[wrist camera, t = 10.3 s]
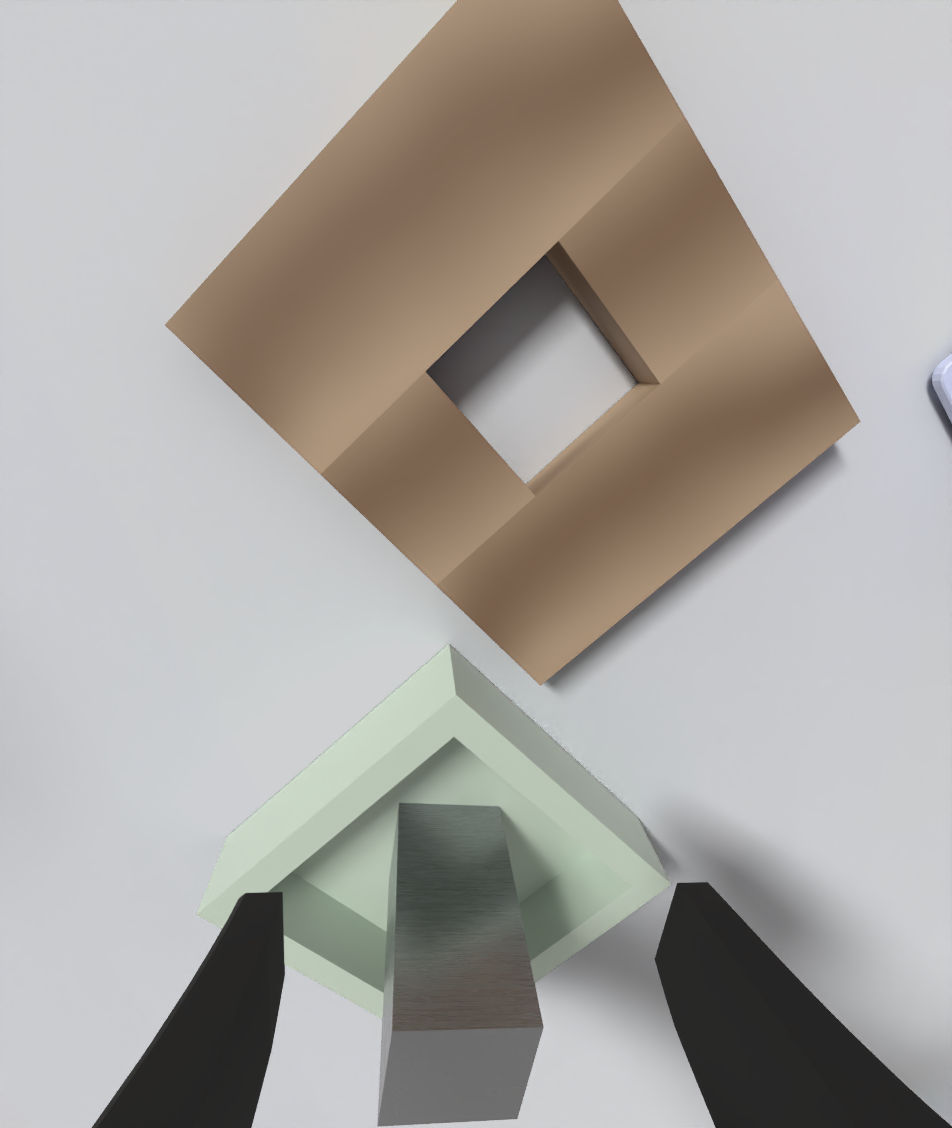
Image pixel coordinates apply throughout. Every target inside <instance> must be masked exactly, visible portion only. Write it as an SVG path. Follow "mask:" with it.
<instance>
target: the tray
mask: <svg viewBox="0 0 952 1128" xmlns="http://www.w3.org/2000/svg"><path fill="white" fill-rule="evenodd" d="M399 803H422V804H449V805H475V806H499V807H500V812H501V817H502V822H503V827H504V832H505V837H506V842H507V847H508V852H509V857H510V862H511V867H512V872H513V877H514V882H515V887H516V892H517V897H518V902H519V908H520V913H521V918H522V923H523V928H524V933H525V938H526V943H527V948H528V953H529V958H530V963H531V968H532V973H533V978H534V983H535V982H537V981H538V980H539V979H541V978H542V977H544V976H545V975H546V974H548V973H549V972H551V971H552V970H553V969H555V968H556V967H558V966H559V965H560V964H562V963H563V962H565V961H566V960H567V959H569V958H570V957H571V956H573V955H574V954H576V953H577V952H578V951H580V950H581V949H583V948H584V947H585V946H587V945H588V944H590V943H591V942H592V941H594V940H595V939H597V938H598V937H599V936H601V935H602V934H604V933H605V932H606V931H608V930H609V929H611V928H612V927H613V926H615V925H616V924H617V923H619V922H620V921H622V920H623V919H624V918H626V917H627V916H629V915H630V914H631V913H633V912H634V911H636V910H637V909H638V908H640V907H641V906H643V905H644V904H645V903H647V902H648V901H650V900H651V899H652V898H654V897H655V896H656V895H658V894H659V893H661V892H662V891H663V890H665V889H666V888H668V887H669V886H670V885H672V884H671V882H670V880H669V878H668V876H667V874H666V872H665V870H664V868H663V866H662V864H661V862H660V860H659V858H658V856H657V854H656V853H655V851H654V849H653V847H652V845H651V843H650V841H649V839H648V837H647V835H646V833H645V831H644V829H643V827H642V825H641V823H640V821H639V819H638V817H637V816H636V815H635V814H634V813H633V812H631V811H630V810H629V809H628V808H627V807H626V806H625V805H624V804H623V803H622V802H621V801H620V800H618V799H617V798H616V797H615V796H614V795H613V794H612V793H611V792H610V791H609V790H608V789H606V788H605V787H604V786H603V785H602V784H601V783H600V782H599V781H598V780H597V779H596V778H594V777H593V776H592V775H591V774H590V773H589V772H588V771H587V770H586V769H585V768H584V767H583V766H581V765H580V764H579V763H578V762H577V761H576V760H575V759H574V758H573V757H572V756H571V755H569V754H568V753H567V752H566V751H565V750H564V749H563V748H562V747H561V746H560V745H559V744H558V743H556V742H555V741H554V740H553V739H552V738H551V737H550V736H549V735H548V734H547V733H546V732H544V731H543V730H542V729H541V728H540V727H539V726H538V725H537V724H536V723H535V722H534V721H533V720H531V719H530V718H529V717H528V716H527V715H526V714H525V713H524V712H523V711H522V710H521V709H519V708H518V707H517V706H516V705H515V704H514V703H513V702H512V701H511V700H510V699H509V698H508V697H506V696H505V695H504V694H503V693H502V692H501V691H500V690H499V689H498V688H497V687H496V686H494V685H493V684H492V683H491V682H490V681H489V680H488V679H487V678H486V677H485V676H484V675H483V674H481V673H480V672H479V671H478V670H477V669H476V668H475V667H474V666H473V665H472V664H471V663H469V662H468V661H467V660H466V659H465V658H464V657H463V656H462V655H461V654H460V653H459V652H458V651H456V650H455V649H454V648H453V647H452V646H451V645H450V644H448V645H447V646H446V647H445V648H444V649H443V650H441V651H440V652H439V653H438V654H437V655H436V656H434V657H433V658H432V659H431V660H430V661H429V662H428V663H426V664H425V665H424V666H423V667H422V668H421V669H420V670H418V671H417V672H416V673H415V674H414V675H413V676H411V677H410V678H409V679H408V680H407V681H406V682H405V683H403V684H402V685H401V686H400V687H399V688H398V689H397V690H395V691H394V692H393V693H392V694H391V695H390V696H388V697H387V698H386V699H385V700H384V701H383V702H382V703H380V704H379V705H378V706H377V707H376V708H375V709H374V710H372V711H371V712H370V713H369V714H368V715H367V716H366V717H364V718H363V719H362V720H361V721H360V722H359V723H357V724H356V725H355V726H354V727H353V728H352V729H351V730H349V731H348V732H347V733H346V734H345V735H344V736H343V737H341V738H340V739H339V740H338V741H337V742H336V743H334V744H333V745H332V746H331V747H330V748H329V749H328V750H326V751H325V752H324V753H323V754H322V755H321V756H320V757H318V758H317V759H316V760H315V761H314V762H313V763H311V764H310V765H309V766H308V767H307V768H306V769H305V770H303V771H302V772H301V773H300V774H299V775H298V776H297V777H295V778H294V779H293V780H292V781H291V782H290V783H288V784H287V785H286V786H285V787H284V788H283V789H282V790H280V791H279V792H278V793H277V794H276V795H275V796H274V797H272V798H271V799H270V800H269V801H268V802H267V803H265V804H264V805H263V806H262V807H261V808H260V809H259V810H257V811H256V812H255V813H254V814H253V815H252V816H251V817H249V818H248V819H247V820H246V821H245V822H244V823H242V824H241V825H240V826H239V827H238V828H237V829H236V830H234V831H233V832H232V833H231V834H230V835H229V836H228V837H227V839H226V841H225V844H224V846H223V849H222V851H221V854H220V856H219V859H218V861H217V864H216V867H215V869H214V872H213V874H212V877H211V879H210V882H209V884H208V887H207V889H206V892H205V894H204V897H203V899H202V902H201V904H200V907H199V909H198V912H197V914H196V915H198V916H200V917H201V918H203V919H205V920H207V921H209V922H210V923H212V924H214V925H216V926H217V927H219V928H221V929H223V927H224V925H225V923H226V921H227V920H228V918H229V916H230V914H231V912H232V910H233V908H234V907H235V905H236V903H237V901H238V899H239V898H240V897H241V896H242V895H244V894H245V893H261V892H283V926H284V964H285V965H287V966H289V967H291V968H292V969H294V970H296V971H298V972H300V973H301V974H303V975H305V976H307V977H308V978H310V979H312V980H314V981H316V982H317V983H319V984H321V985H323V986H324V987H326V988H328V989H330V990H332V991H333V992H335V993H337V994H339V995H341V996H342V997H344V998H346V999H348V1000H349V1001H351V1002H353V1003H355V1004H357V1005H358V1006H360V1007H362V1008H364V1009H366V1010H367V1011H369V1012H371V1013H373V1014H374V1015H376V1016H378V1017H380V1018H382V1019H383V997H384V976H385V954H386V932H387V911H388V889H389V875H390V868H391V860H392V853H393V845H394V837H395V830H396V822H397V815H398V807H399Z"/></svg>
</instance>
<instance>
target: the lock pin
mask: <svg viewBox="0 0 952 1128" xmlns="http://www.w3.org/2000/svg"><path fill="white" fill-rule="evenodd" d="M542 1030H543V1023H542V1018H541V1013H540V1008H539V1003H538V998H537V993H536V988H535V983H534V978H533V973H532V968H531V963H530V958H529V953H528V948H527V943H526V938H525V933H524V928H523V923H522V918H521V913H520V908H519V902H518V897H517V892H516V887H515V882H514V877H513V872H512V867H511V862H510V857H509V852H508V847H507V842H506V837H505V832H504V827H503V822H502V817H501V812H500V807H499V806H475V805H449V804H422V803H399V807H398V815H397V822H396V830H395V837H394V845H393V853H392V860H391V868H390V875H389V889H388V911H387V932H386V954H385V976H384V997H383V1019H382V1041H381V1062H380V1084H379V1106H378V1126H394V1125H412V1124H431V1123H450V1122H468V1121H487V1120H506V1119H517V1118H518V1114H519V1111H520V1107H521V1104H522V1100H523V1097H524V1093H525V1090H526V1086H527V1083H528V1079H529V1076H530V1072H531V1069H532V1065H533V1062H534V1058H535V1055H536V1051H537V1048H538V1044H539V1041H540V1037H541V1034H542Z"/></svg>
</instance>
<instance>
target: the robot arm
mask: <svg viewBox="0 0 952 1128" xmlns="http://www.w3.org/2000/svg"><path fill="white" fill-rule="evenodd" d="M932 384H933V387H934V389H935V391H936V393H937V395H938V397H939V399H940V401H941V403H942V405H943V407H944V409H945V411H946V413H947V415H948V417H949V419H950V421H951V423H952V353H951V354H950V355H949V356H948V357H946V358H945V359H944V360H943V361H942V362H941V363H940V364H939V365H938V366H937V367H936V369H935V371H934V373H933V376H932ZM655 962H656V965H657V969H658V972H659V976H660V979H661V983H662V986H663V990H664V993H665V997H666V1000H667V1003H668V1006H669V1009H670V1013H671V1016H672V1019H673V1022H674V1025H675V1028H676V1031H677V1033H678V1036H679V1038H680V1041H681V1044H682V1046H683V1049H684V1051H685V1053H686V1056H687V1058H688V1061H689V1063H690V1066H691V1068H692V1071H693V1073H694V1076H695V1078H696V1081H697V1083H698V1086H699V1088H700V1091H701V1093H702V1096H703V1098H704V1100H705V1103H706V1105H707V1108H708V1110H709V1113H710V1115H711V1118H712V1120H713V1122H714V1125H715V1127H716V1128H952V1126H951V1125H949V1124H948V1123H947V1122H946V1121H945V1120H944V1119H943V1118H941V1117H940V1116H939V1115H938V1114H937V1113H936V1112H935V1111H934V1110H932V1109H931V1108H930V1107H929V1106H928V1105H927V1104H926V1103H925V1102H924V1101H922V1100H921V1099H920V1098H919V1097H918V1096H917V1095H916V1094H915V1093H914V1092H913V1091H912V1090H910V1089H909V1088H908V1087H907V1086H906V1085H905V1084H904V1083H903V1082H902V1081H901V1080H900V1079H899V1078H898V1077H897V1076H895V1075H894V1074H893V1073H892V1072H891V1071H890V1070H889V1069H888V1068H887V1067H886V1066H885V1065H884V1064H883V1063H882V1062H881V1061H880V1060H879V1059H878V1058H877V1057H876V1056H875V1055H874V1054H873V1053H872V1052H870V1051H869V1050H868V1049H867V1048H866V1047H865V1046H864V1045H863V1044H862V1043H861V1042H860V1041H859V1040H858V1039H857V1038H856V1037H855V1036H854V1035H853V1034H852V1033H851V1032H850V1031H849V1030H848V1029H847V1028H846V1027H845V1026H844V1025H843V1024H842V1023H841V1022H840V1021H839V1020H838V1019H837V1018H836V1017H835V1016H834V1015H833V1014H832V1013H831V1012H830V1011H829V1010H828V1009H827V1008H826V1007H825V1006H824V1005H823V1004H822V1003H821V1002H820V1001H819V1000H818V999H817V998H816V997H815V996H814V995H813V994H812V993H811V992H810V991H809V990H808V989H807V988H806V987H805V986H804V984H803V983H802V982H801V981H800V980H799V979H798V978H797V977H796V976H795V975H794V974H793V973H792V972H791V971H790V970H789V969H788V968H787V967H786V966H785V965H784V964H783V962H782V961H781V960H780V959H779V958H778V957H777V956H776V955H775V954H774V953H773V952H772V951H771V950H770V949H769V948H768V947H767V945H766V944H765V943H764V942H763V941H762V940H761V939H760V938H759V937H758V936H757V935H756V934H755V933H754V932H753V930H752V929H751V928H750V927H749V926H748V925H747V924H746V923H745V922H744V921H743V920H742V919H741V918H740V916H739V915H738V914H737V913H736V912H735V911H734V910H733V909H732V908H731V907H730V906H729V905H728V904H727V902H726V901H725V900H724V899H723V898H722V897H721V896H720V895H719V894H718V893H717V892H716V891H715V890H714V889H713V888H712V887H711V886H710V884H709V883H708V882H701V883H677V886H676V889H675V893H674V896H673V899H672V903H671V906H670V910H669V913H668V916H667V920H666V923H665V926H664V930H663V933H662V937H661V940H660V943H659V947H658V950H657V953H656V957H655ZM284 976H285V966H284V926H283V892H261V893H245V894H244V895H242V896H241V897H240V898H239V899H238V901H237V903H236V905H235V907H234V908H233V910H232V912H231V914H230V916H229V918H228V920H227V921H226V923H225V925H224V927H223V929H222V930H221V932H220V934H219V936H218V937H217V939H216V941H215V943H214V944H213V946H212V948H211V949H210V951H209V953H208V954H207V956H206V958H205V959H204V961H203V963H202V964H201V966H200V968H199V969H198V971H197V972H196V974H195V976H194V977H193V979H192V981H191V982H190V984H189V986H188V987H187V989H186V990H185V992H184V993H183V995H182V996H181V998H180V999H179V1001H178V1003H177V1004H176V1006H175V1007H174V1009H173V1010H172V1012H171V1013H170V1015H169V1016H168V1018H167V1019H166V1021H165V1022H164V1024H163V1026H162V1027H161V1029H160V1030H159V1032H158V1033H157V1035H156V1036H155V1038H154V1039H153V1041H152V1042H151V1044H150V1045H149V1047H148V1048H147V1050H146V1051H145V1053H144V1054H143V1056H142V1057H141V1059H140V1060H139V1062H138V1063H137V1064H136V1066H135V1067H134V1069H133V1070H132V1071H131V1073H130V1074H129V1076H128V1077H127V1079H126V1080H125V1081H124V1083H123V1084H122V1086H121V1087H120V1088H119V1090H118V1091H117V1093H116V1094H115V1096H114V1097H113V1098H112V1100H111V1101H110V1103H109V1104H108V1105H107V1107H106V1108H105V1110H104V1111H103V1113H102V1114H101V1115H100V1117H99V1118H98V1120H97V1121H96V1122H95V1124H94V1125H93V1127H92V1128H251V1127H252V1123H253V1119H254V1115H255V1111H256V1108H257V1104H258V1100H259V1096H260V1092H261V1088H262V1085H263V1081H264V1077H265V1073H266V1069H267V1065H268V1061H269V1057H270V1054H271V1049H272V1044H273V1038H274V1033H275V1027H276V1022H277V1016H278V1011H279V1005H280V999H281V993H282V988H283V982H284Z"/></svg>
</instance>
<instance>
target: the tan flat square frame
mask: <svg viewBox="0 0 952 1128" xmlns="http://www.w3.org/2000/svg"><path fill="white" fill-rule="evenodd" d="M544 254H545V255H546V257H547V258H548V259H549V261H550V262H551V263H552V265H553V266H554V268H555V269H556V270H557V272H558V273H559V274H560V276H561V277H562V278H563V280H564V281H565V283H566V284H567V285H568V287H569V288H570V289H571V291H572V292H573V294H574V295H575V296H576V298H577V299H578V300H579V302H580V303H581V305H582V306H583V307H584V309H585V310H586V311H587V313H588V314H589V316H590V317H591V318H592V320H593V321H594V322H595V324H596V325H597V327H598V328H599V329H600V331H601V332H602V333H603V335H604V336H605V338H606V339H607V340H608V342H609V343H610V344H611V346H612V347H613V349H614V350H615V351H616V353H617V354H618V355H619V357H620V358H621V360H622V361H623V362H624V364H625V365H626V366H627V368H628V369H629V371H630V372H631V373H632V375H633V376H634V377H635V379H636V380H637V381H638V384H637V385H636V386H635V387H633V388H632V389H631V390H630V391H629V392H628V393H627V394H626V395H625V396H623V397H622V398H621V399H620V400H619V401H618V402H617V403H616V404H615V405H613V406H612V407H611V408H610V409H609V410H608V411H607V412H606V413H605V414H604V415H602V416H601V417H600V418H599V419H598V420H597V421H596V422H595V423H594V424H592V425H591V426H590V427H589V428H588V429H587V430H586V431H585V432H584V433H582V434H581V435H580V436H579V437H578V438H577V439H576V440H575V441H574V442H573V443H571V444H570V445H569V446H568V447H567V448H566V449H565V450H564V451H563V452H561V453H560V454H559V455H558V456H557V457H556V458H555V459H554V460H553V461H552V462H550V463H549V464H548V465H547V466H546V467H545V468H544V469H543V470H542V471H540V472H539V473H538V474H537V475H536V476H535V477H534V478H533V479H532V480H530V481H529V482H528V483H527V484H526V485H525V484H524V483H523V481H522V480H521V479H520V478H519V477H518V476H517V475H516V473H515V472H514V471H513V470H512V469H511V468H510V467H509V466H508V464H507V463H506V462H505V461H504V460H503V459H502V458H501V456H500V455H499V454H498V453H497V452H496V451H495V450H494V449H493V447H492V446H491V445H490V444H489V443H488V442H487V441H486V439H485V438H484V437H483V436H482V435H481V434H480V433H479V432H478V430H477V429H476V428H475V427H474V426H473V425H472V424H471V422H470V421H469V420H468V419H467V418H466V417H465V416H464V415H463V413H462V412H461V411H460V410H459V409H458V408H457V407H456V405H455V404H454V403H453V402H452V401H451V400H450V399H449V398H448V396H447V395H446V394H445V393H444V392H443V391H442V390H441V388H440V387H439V386H438V385H437V384H436V383H435V382H434V381H433V379H432V378H431V377H430V376H429V375H428V374H427V373H426V370H427V369H428V368H429V367H430V366H431V365H432V364H433V363H434V362H435V361H436V360H437V359H439V358H440V357H441V356H442V355H443V354H444V353H445V352H446V351H447V350H448V349H449V348H450V347H451V346H452V345H453V344H454V343H455V342H456V341H457V340H458V339H459V338H460V337H461V336H462V335H463V334H464V333H465V332H466V331H467V330H468V329H469V328H470V327H471V326H472V325H473V324H474V323H475V322H476V321H477V320H478V319H479V318H480V317H481V316H482V315H483V314H484V313H485V312H486V311H487V310H488V309H489V308H490V307H491V306H492V305H494V304H495V303H496V302H497V301H498V300H499V299H500V298H501V297H502V296H503V295H504V294H505V293H506V292H507V291H508V290H509V289H510V288H511V287H512V286H513V285H514V284H515V283H516V282H517V281H518V280H519V279H520V278H521V277H522V276H523V275H524V274H525V273H526V272H527V271H528V270H529V269H530V268H531V267H532V266H533V265H534V264H535V263H536V262H537V261H538V260H539V259H540V258H541V257H542V256H543V255H544ZM165 326H166V327H167V328H168V329H169V330H170V331H172V332H173V333H174V334H175V335H176V336H177V337H178V338H179V339H180V340H181V341H182V342H183V343H184V344H185V345H186V346H187V347H188V348H189V349H190V350H191V351H192V352H193V353H194V354H195V355H197V356H198V357H199V358H200V359H201V360H202V361H203V362H204V363H205V364H206V365H207V366H208V367H209V368H210V369H211V370H212V371H213V372H214V373H215V374H216V375H217V376H218V377H219V378H220V379H222V380H223V381H224V382H225V383H226V384H227V385H228V386H229V387H230V388H231V389H232V390H233V391H234V392H235V393H236V394H237V395H238V396H239V397H240V398H241V399H242V400H243V401H244V402H246V403H247V404H248V405H249V406H250V407H251V408H252V409H253V410H254V411H255V412H256V413H257V414H258V415H259V416H260V417H261V418H262V419H263V420H264V421H265V422H266V423H267V424H268V425H269V426H271V427H272V428H273V429H274V430H275V431H276V432H277V433H278V434H279V435H280V436H281V437H282V438H283V439H284V440H285V441H286V442H287V443H288V444H289V445H290V446H291V447H292V448H293V449H294V450H296V451H297V452H298V453H299V454H300V455H301V456H302V457H303V458H304V459H305V460H306V461H307V462H308V463H309V464H310V465H311V466H312V467H313V468H314V469H315V470H316V471H317V472H318V473H319V474H321V475H322V476H323V477H324V478H325V479H326V480H327V481H328V482H329V483H330V484H331V485H332V486H333V487H334V488H335V489H336V490H337V491H338V492H339V493H340V494H341V495H342V496H343V497H344V498H346V499H347V500H348V501H349V502H350V503H351V504H352V505H353V506H354V507H355V508H356V509H357V510H358V511H359V512H360V513H361V514H362V515H363V516H364V517H365V518H366V519H367V520H368V521H370V522H371V523H372V524H373V525H374V526H375V527H376V528H377V529H378V530H379V531H380V532H381V533H382V534H383V535H384V536H385V537H386V538H387V539H388V540H389V541H390V542H391V543H392V544H393V545H395V546H396V547H397V548H398V549H399V550H400V551H401V552H402V553H403V554H404V555H405V556H406V557H407V558H408V559H409V560H410V561H411V562H412V563H413V564H414V565H415V566H416V567H417V568H418V569H420V570H421V571H422V572H423V573H424V574H425V575H426V576H427V577H428V578H429V579H430V580H431V581H432V582H433V583H434V584H435V585H436V586H437V587H438V588H439V589H440V590H441V591H442V592H443V593H445V594H446V595H447V596H448V597H449V598H450V599H451V600H452V601H453V602H454V603H455V604H456V605H457V606H458V607H459V608H460V609H461V610H462V611H463V612H464V613H465V614H466V615H467V616H468V617H470V618H471V619H472V620H473V621H474V622H475V623H476V624H477V625H478V626H479V627H480V628H481V629H482V630H483V631H484V632H485V633H486V634H487V635H488V636H489V637H490V638H491V639H492V640H493V641H495V642H496V643H497V644H498V645H499V646H500V647H501V648H502V649H503V650H504V651H505V652H506V653H507V654H508V655H509V656H510V657H511V658H512V659H513V660H514V661H515V662H516V663H517V664H519V665H520V666H521V667H522V668H523V669H524V670H525V671H526V672H527V673H528V674H529V675H530V676H531V677H532V678H533V679H534V680H535V681H536V682H537V683H538V684H539V685H540V686H541V685H542V684H543V683H544V682H545V681H547V680H548V679H549V678H550V677H552V676H553V675H554V674H555V673H556V672H558V671H559V670H560V669H561V668H562V667H564V666H565V665H566V664H567V663H569V662H570V661H571V660H572V659H573V658H575V657H576V656H577V655H578V654H579V653H581V652H582V651H583V650H584V649H585V648H587V647H588V646H589V645H590V644H592V643H593V642H594V641H595V640H596V639H598V638H599V637H600V636H601V635H602V634H604V633H605V632H606V631H607V630H608V629H610V628H611V627H612V626H613V625H615V624H616V623H617V622H618V621H619V620H621V619H622V618H623V617H624V616H625V615H627V614H628V613H629V612H630V611H632V610H633V609H634V608H635V607H636V606H638V605H639V604H640V603H641V602H642V601H644V600H645V599H646V598H647V597H648V596H650V595H651V594H652V593H653V592H655V591H656V590H657V589H658V588H659V587H661V586H662V585H663V584H664V583H665V582H667V581H668V580H669V579H670V578H672V577H673V576H674V575H675V574H676V573H678V572H679V571H680V570H681V569H682V568H684V567H685V566H686V565H687V564H688V563H690V562H691V561H692V560H693V559H695V558H696V557H697V556H698V555H699V554H701V553H702V552H703V551H704V550H705V549H707V548H708V547H709V546H710V545H711V544H713V543H714V542H715V541H716V540H718V539H719V538H720V537H721V536H722V535H724V534H725V533H726V532H727V531H728V530H730V529H731V528H732V527H733V526H735V525H736V524H737V523H738V522H739V521H741V520H742V519H743V518H744V517H745V516H747V515H748V514H749V513H750V512H751V511H753V510H754V509H755V508H756V507H758V506H759V505H760V504H761V503H762V502H764V501H765V500H766V499H767V498H768V497H770V496H771V495H772V494H773V493H775V492H776V491H777V490H778V489H779V488H781V487H782V486H783V485H784V484H785V483H787V482H788V481H789V480H790V479H791V478H793V477H794V476H795V475H796V474H798V473H799V472H800V471H801V470H802V469H804V468H805V467H806V466H807V465H808V464H810V463H811V462H812V461H813V460H814V459H816V458H817V457H818V456H819V455H821V454H822V453H823V452H824V451H825V450H827V449H828V448H829V447H830V446H831V445H833V444H834V443H835V442H836V441H838V440H839V439H840V438H841V437H842V436H844V435H845V434H846V433H847V432H848V431H850V430H851V429H852V428H853V427H854V426H856V425H857V424H858V423H859V422H861V421H860V420H859V418H858V416H857V415H856V413H855V411H854V409H853V408H852V406H851V404H850V402H849V401H848V399H847V397H846V395H845V394H844V392H843V390H842V389H841V387H840V385H839V383H838V382H837V380H836V378H835V376H834V375H833V373H832V371H831V369H830V368H829V366H828V364H827V363H826V361H825V359H824V357H823V356H822V354H821V352H820V350H819V349H818V347H817V345H816V343H815V342H814V340H813V338H812V337H811V335H810V333H809V331H808V330H807V328H806V326H805V324H804V323H803V321H802V319H801V317H800V316H799V314H798V312H797V311H796V309H795V307H794V305H793V304H792V302H791V300H790V298H789V297H788V295H787V293H786V291H785V290H784V288H783V286H782V284H781V283H780V281H779V279H778V278H777V276H776V274H775V272H774V271H773V269H772V267H771V265H770V264H769V262H768V260H767V258H766V257H765V255H764V253H763V252H762V250H761V248H760V246H759V245H758V243H757V241H756V239H755V238H754V236H753V234H752V232H751V231H750V229H749V227H748V226H747V224H746V222H745V220H744V219H743V217H742V215H741V213H740V212H739V210H738V208H737V206H736V205H735V203H734V201H733V200H732V198H731V196H730V194H729V193H728V191H727V189H726V187H725V186H724V184H723V182H722V180H721V179H720V177H719V175H718V174H717V172H716V170H715V168H714V167H713V165H712V163H711V161H710V160H709V158H708V156H707V154H706V153H705V151H704V149H703V148H702V146H701V144H700V142H699V141H698V139H697V137H696V135H695V134H694V132H693V130H692V128H691V127H690V125H689V123H688V121H687V120H686V118H685V116H684V115H683V113H682V111H681V109H680V108H679V106H678V104H677V102H676V101H675V99H674V97H673V95H672V94H671V92H670V90H669V89H668V87H667V85H666V83H665V82H664V80H663V78H662V76H661V75H660V73H659V71H658V69H657V68H656V66H655V64H654V63H653V61H652V59H651V57H650V56H649V54H648V52H647V50H646V49H645V47H644V45H643V43H642V42H641V40H640V38H639V37H638V35H637V33H636V31H635V30H634V28H633V26H632V24H631V23H630V21H629V19H628V17H627V16H626V14H625V12H624V11H623V9H622V7H621V5H620V4H619V2H618V0H457V1H456V2H455V4H454V5H453V6H452V7H451V8H450V9H449V10H448V11H447V12H446V14H445V15H444V16H443V17H442V18H441V19H440V20H439V21H438V22H437V24H436V25H435V26H434V27H433V28H432V29H431V30H430V31H429V32H428V34H427V35H426V36H425V37H424V38H423V39H422V40H421V41H420V42H419V44H418V45H417V46H416V47H415V48H414V49H413V50H412V51H411V52H410V53H409V55H408V56H407V57H406V58H405V59H404V60H403V61H402V62H401V63H400V65H399V66H398V67H397V68H396V69H395V70H394V71H393V72H392V73H391V75H390V76H389V77H388V78H387V79H386V80H385V81H384V82H383V83H382V85H381V86H380V87H379V88H378V89H377V90H376V91H375V92H374V93H373V95H372V96H371V97H370V98H369V99H368V100H367V101H366V102H365V103H364V105H363V106H362V107H361V108H360V109H359V110H358V111H357V112H356V113H355V115H354V116H353V117H352V118H351V119H350V120H349V121H348V122H347V123H346V125H345V126H344V127H343V128H342V129H341V130H340V131H339V132H338V133H337V135H336V136H335V137H334V138H333V139H332V140H331V141H330V142H329V143H328V145H327V146H326V147H325V148H324V149H323V150H322V151H321V152H320V153H319V155H318V156H317V157H316V158H315V159H314V160H313V161H312V162H311V163H310V164H309V166H308V167H307V168H306V169H305V170H304V171H303V172H302V173H301V174H300V176H299V177H298V178H297V179H296V180H295V181H294V182H293V183H292V184H291V186H290V187H289V188H288V189H287V190H286V191H285V192H284V193H283V194H282V196H281V197H280V198H279V199H278V200H277V201H276V202H275V203H274V204H273V206H272V207H271V208H270V209H269V210H268V211H267V212H266V213H265V214H264V216H263V217H262V218H261V219H260V220H259V221H258V222H257V223H256V224H255V226H254V227H253V228H252V229H251V230H250V231H249V232H248V233H247V234H246V236H245V237H244V238H243V239H242V240H241V241H240V242H239V243H238V244H237V246H236V247H235V248H234V249H233V250H232V251H231V252H230V253H229V254H228V256H227V257H226V258H225V259H224V260H223V261H222V262H221V263H220V264H219V266H218V267H217V268H216V269H215V270H214V271H213V272H212V273H211V274H210V275H209V277H208V278H207V279H206V280H205V281H204V282H203V283H202V284H201V285H200V287H199V288H198V289H197V290H196V291H195V292H194V293H193V294H192V295H191V297H190V298H189V299H188V300H187V301H186V302H185V303H184V304H183V305H182V307H181V308H180V309H179V310H178V311H177V312H176V313H175V314H174V315H173V317H172V318H171V319H170V320H169V321H168V322H167V323H166V324H165Z"/></svg>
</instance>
